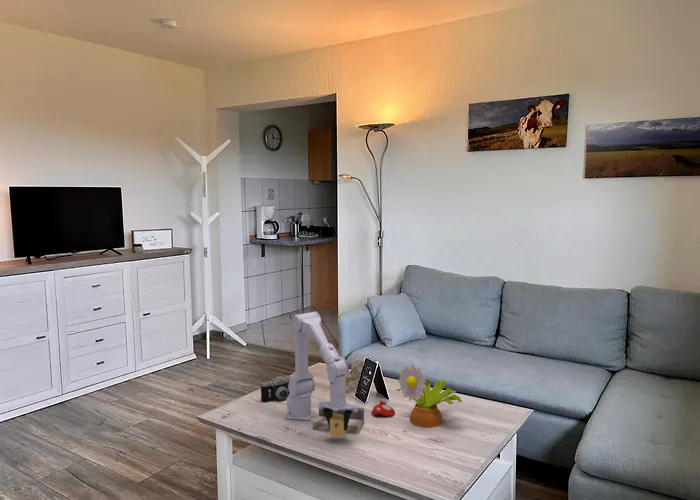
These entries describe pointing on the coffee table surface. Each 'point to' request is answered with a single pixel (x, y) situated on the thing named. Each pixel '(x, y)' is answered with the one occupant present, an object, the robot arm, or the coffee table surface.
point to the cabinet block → (337, 425)
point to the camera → (275, 389)
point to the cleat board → (353, 424)
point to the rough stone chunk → (354, 376)
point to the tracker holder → (383, 409)
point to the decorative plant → (424, 397)
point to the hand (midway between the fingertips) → (338, 428)
